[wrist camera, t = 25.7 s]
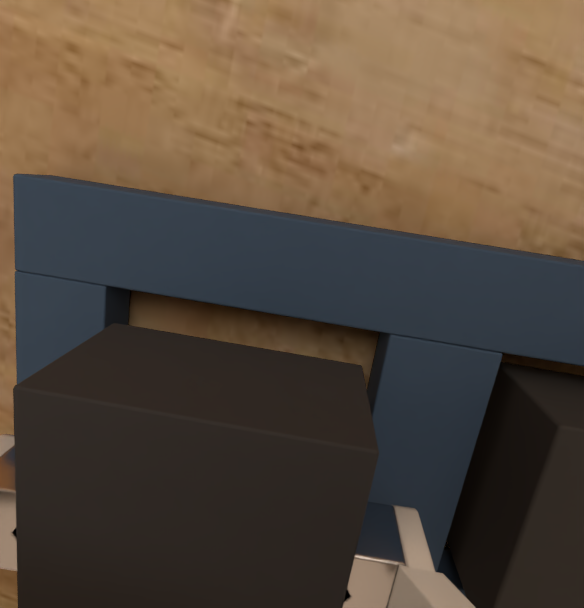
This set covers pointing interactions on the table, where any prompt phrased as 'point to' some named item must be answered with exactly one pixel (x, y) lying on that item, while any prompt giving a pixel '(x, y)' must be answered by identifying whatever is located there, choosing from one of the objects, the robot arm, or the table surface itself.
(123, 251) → the dark grey flat frame
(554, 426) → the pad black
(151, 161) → the table surface
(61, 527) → the dark brown square block
